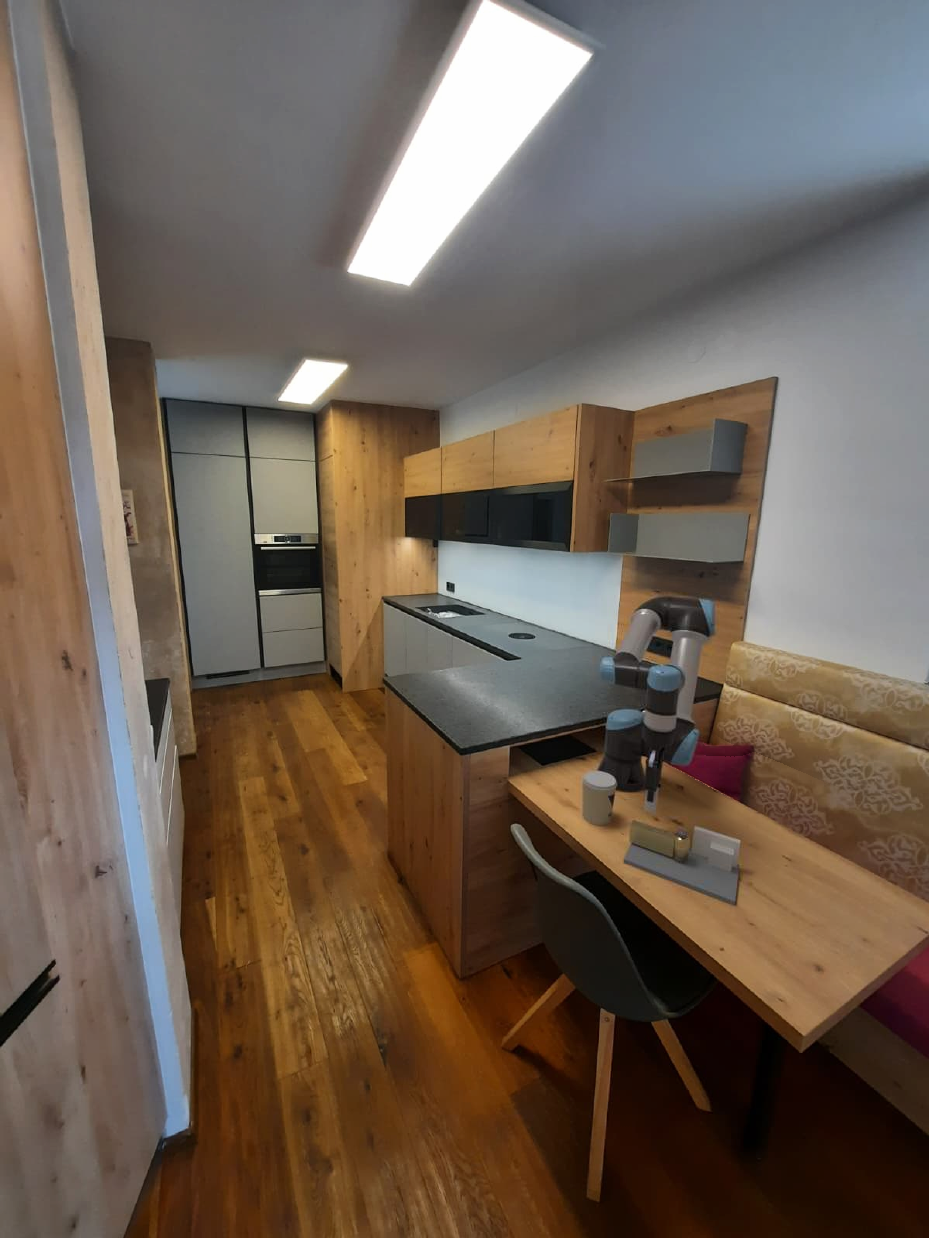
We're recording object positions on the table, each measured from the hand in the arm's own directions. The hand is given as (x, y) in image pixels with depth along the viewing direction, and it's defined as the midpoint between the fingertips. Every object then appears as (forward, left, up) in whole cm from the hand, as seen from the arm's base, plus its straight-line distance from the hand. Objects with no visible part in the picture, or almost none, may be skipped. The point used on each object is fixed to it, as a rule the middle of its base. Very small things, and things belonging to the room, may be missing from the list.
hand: (649, 810), depth 126 cm
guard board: (+7, +9, -8) cm, 14 cm away
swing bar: (+6, +4, -6) cm, 9 cm away
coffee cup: (-1, -14, -8) cm, 16 cm away
